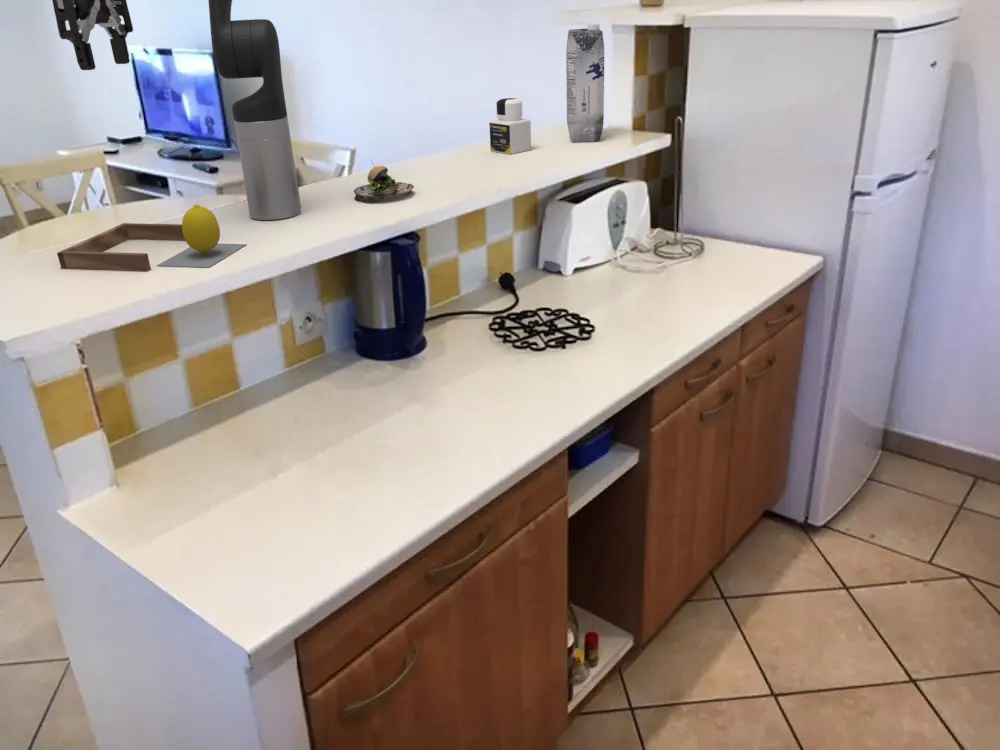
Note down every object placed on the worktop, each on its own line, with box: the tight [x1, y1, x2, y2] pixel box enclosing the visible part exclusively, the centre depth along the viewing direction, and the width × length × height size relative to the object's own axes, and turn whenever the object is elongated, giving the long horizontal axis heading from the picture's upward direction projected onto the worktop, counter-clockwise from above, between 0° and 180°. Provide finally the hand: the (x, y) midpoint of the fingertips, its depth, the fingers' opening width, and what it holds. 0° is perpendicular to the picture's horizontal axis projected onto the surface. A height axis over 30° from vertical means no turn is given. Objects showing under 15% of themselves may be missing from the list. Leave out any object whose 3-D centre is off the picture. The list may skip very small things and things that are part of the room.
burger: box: [353, 159, 415, 205], centre depth 165 cm, size 12×12×8 cm
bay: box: [56, 222, 186, 272], centre depth 137 cm, size 17×15×2 cm
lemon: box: [181, 204, 221, 254], centre depth 133 cm, size 6×6×8 cm
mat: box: [155, 242, 247, 269], centre depth 135 cm, size 12×9×1 cm
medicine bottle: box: [488, 97, 532, 155], centre depth 201 cm, size 7×7×12 cm
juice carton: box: [565, 23, 605, 143], centre depth 208 cm, size 9×10×27 cm
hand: (105, 66), depth 130 cm, fingers open, 8 cm apart
